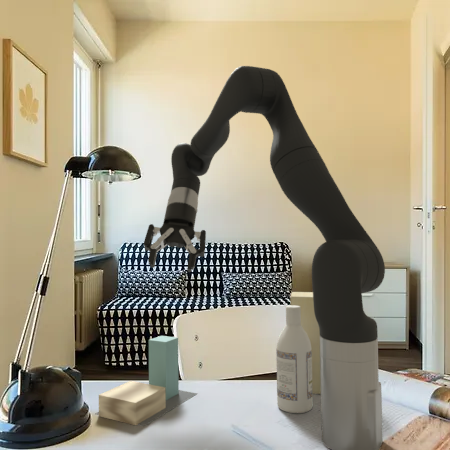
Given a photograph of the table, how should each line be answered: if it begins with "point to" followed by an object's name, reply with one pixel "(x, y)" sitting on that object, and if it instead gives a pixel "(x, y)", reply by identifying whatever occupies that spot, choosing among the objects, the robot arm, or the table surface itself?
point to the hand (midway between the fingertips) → (170, 268)
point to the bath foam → (294, 365)
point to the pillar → (164, 364)
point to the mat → (169, 405)
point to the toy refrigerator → (310, 332)
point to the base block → (132, 402)
